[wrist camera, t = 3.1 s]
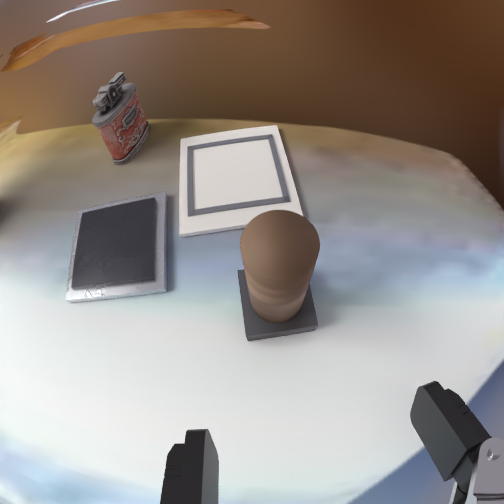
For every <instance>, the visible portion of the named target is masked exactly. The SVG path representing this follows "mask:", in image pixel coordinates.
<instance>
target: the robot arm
mask: <svg viewBox="0 0 504 504" xmlns="http://www.w3.org/2000/svg"><path fill="white" fill-rule="evenodd" d="M410 417H411V422H412V424H413V426H414V428H415V430H416V431H417V433H418V435H419V437H420V438H421V440H422V442H423V444H424V445H425V447H426V449H427V451H428V452H429V454H430V456H431V457H432V460H433V461H434V463H435V465H436V467H437V468H438V470H439V472H440V474H441V476H442V478H443V480H444V481H447V480H449V479H451V478H453V477H454V479H455V480H456V482H455V484H454V487H453V491H452V495H451V499H450V502H449V504H504V440H503V439H502V438H498V437H493V438H492V437H491V436H490V435H489V434H488V433H487V431H486V430H485V429H484V427H483V426H482V425H481V423H480V422H479V421H478V419H477V418H476V417H475V415H474V414H473V413H472V412H470V409H469V408H468V406H467V405H465V402H464V401H463V400H462V399H461V397H460V396H459V395H458V394H456V393H455V392H453V391H451V390H450V389H446V390H444V389H443V387H442V386H441V385H440V384H439V383H438V382H437V381H433V382H431V383H428V384H426V385H423V386H420V387H419V388H418V389H417V392H416V395H415V399H414V402H413V405H412V409H411V412H410ZM164 476H165V478H164V480H163V487H162V494H161V501H160V504H218V478H219V461H218V454H217V450H216V448H215V445H214V443H213V440H212V438H211V435H210V433H209V430H208V429H197V430H187V432H186V437H185V444H174V446H173V447H172V449H171V450H170V452H169V453H168V455H167V461H166V469H165V474H164Z"/></svg>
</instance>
